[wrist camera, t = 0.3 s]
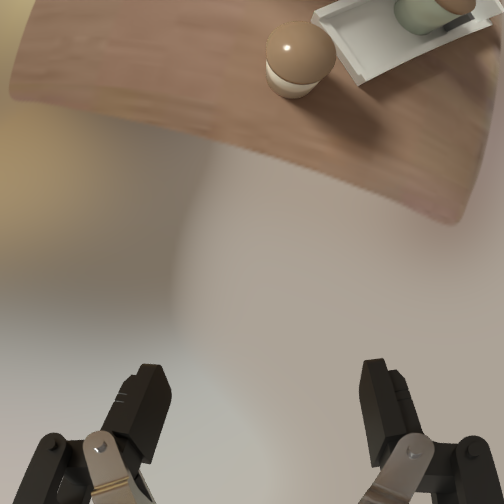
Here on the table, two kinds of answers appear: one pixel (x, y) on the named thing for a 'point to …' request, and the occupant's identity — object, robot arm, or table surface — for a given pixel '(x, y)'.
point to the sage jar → (429, 13)
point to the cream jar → (298, 58)
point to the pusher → (458, 22)
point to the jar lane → (386, 34)
